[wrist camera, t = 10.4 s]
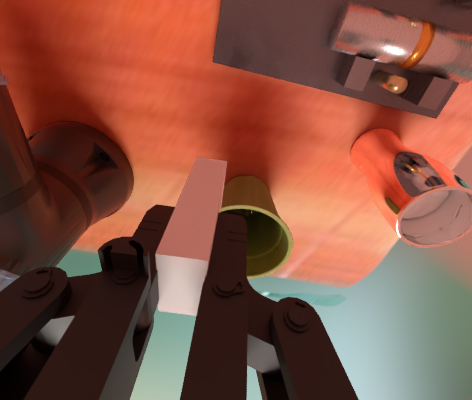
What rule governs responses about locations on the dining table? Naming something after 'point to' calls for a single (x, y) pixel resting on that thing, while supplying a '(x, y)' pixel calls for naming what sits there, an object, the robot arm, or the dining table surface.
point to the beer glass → (413, 190)
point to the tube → (403, 42)
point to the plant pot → (258, 225)
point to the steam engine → (330, 61)
